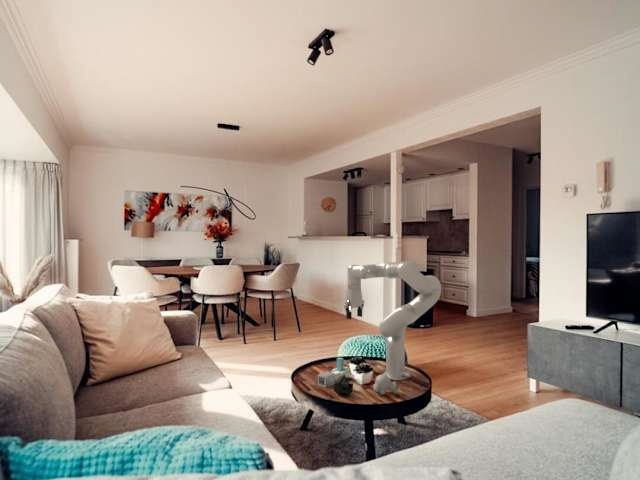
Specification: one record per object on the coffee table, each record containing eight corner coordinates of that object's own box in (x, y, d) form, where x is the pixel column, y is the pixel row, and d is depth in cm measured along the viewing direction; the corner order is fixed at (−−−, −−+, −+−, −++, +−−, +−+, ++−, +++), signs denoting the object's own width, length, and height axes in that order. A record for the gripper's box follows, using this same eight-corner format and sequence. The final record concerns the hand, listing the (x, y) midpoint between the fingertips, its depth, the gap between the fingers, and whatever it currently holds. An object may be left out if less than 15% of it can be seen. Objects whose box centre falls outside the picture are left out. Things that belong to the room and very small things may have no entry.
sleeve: (334, 383, 194) (334, 373, 194) (325, 387, 189) (325, 376, 189) (327, 381, 197) (327, 370, 197) (317, 384, 192) (317, 374, 192)
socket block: (349, 378, 201) (349, 367, 201) (342, 381, 197) (342, 370, 197) (339, 375, 206) (339, 364, 206) (331, 378, 201) (331, 367, 201)
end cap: (339, 388, 188) (339, 374, 189) (353, 389, 186) (353, 375, 186) (333, 395, 179) (333, 381, 179) (348, 397, 177) (348, 382, 177)
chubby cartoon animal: (396, 402, 177) (403, 385, 177) (371, 391, 178) (378, 374, 178) (395, 396, 184) (402, 379, 184) (371, 385, 186) (378, 369, 185)
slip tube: (344, 376, 201) (344, 358, 201) (328, 382, 192) (328, 363, 192) (339, 375, 203) (339, 357, 203) (324, 381, 194) (324, 362, 194)
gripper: (358, 285, 227) (358, 314, 227) (339, 287, 214) (339, 319, 214) (368, 286, 222) (369, 316, 222) (349, 289, 209) (349, 320, 209)
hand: (354, 317), depth 218 cm, fingers open, 9 cm apart
